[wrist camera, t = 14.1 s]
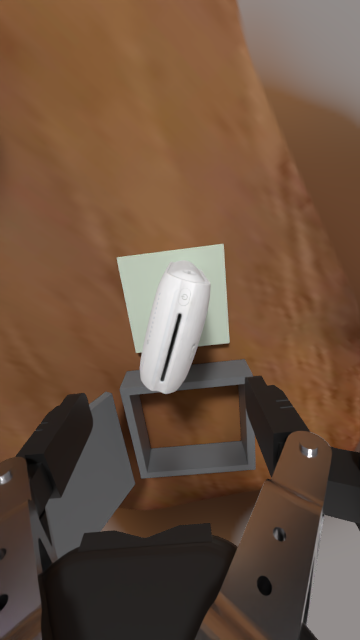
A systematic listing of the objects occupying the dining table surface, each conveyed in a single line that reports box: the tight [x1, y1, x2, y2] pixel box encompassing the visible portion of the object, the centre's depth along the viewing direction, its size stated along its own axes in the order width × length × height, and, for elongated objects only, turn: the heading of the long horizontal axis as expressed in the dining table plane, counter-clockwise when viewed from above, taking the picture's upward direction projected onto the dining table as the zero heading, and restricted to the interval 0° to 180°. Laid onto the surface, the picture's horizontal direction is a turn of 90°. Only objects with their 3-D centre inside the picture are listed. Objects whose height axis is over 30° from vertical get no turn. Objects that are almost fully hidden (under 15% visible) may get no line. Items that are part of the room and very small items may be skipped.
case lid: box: [46, 392, 135, 559], centre depth 24 cm, size 16×15×2 cm
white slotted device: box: [140, 260, 211, 394], centre depth 22 cm, size 10×4×12 cm, turn 165°
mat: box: [117, 244, 229, 353], centre depth 29 cm, size 12×12×1 cm
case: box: [120, 359, 256, 479], centre depth 33 cm, size 16×15×4 cm
